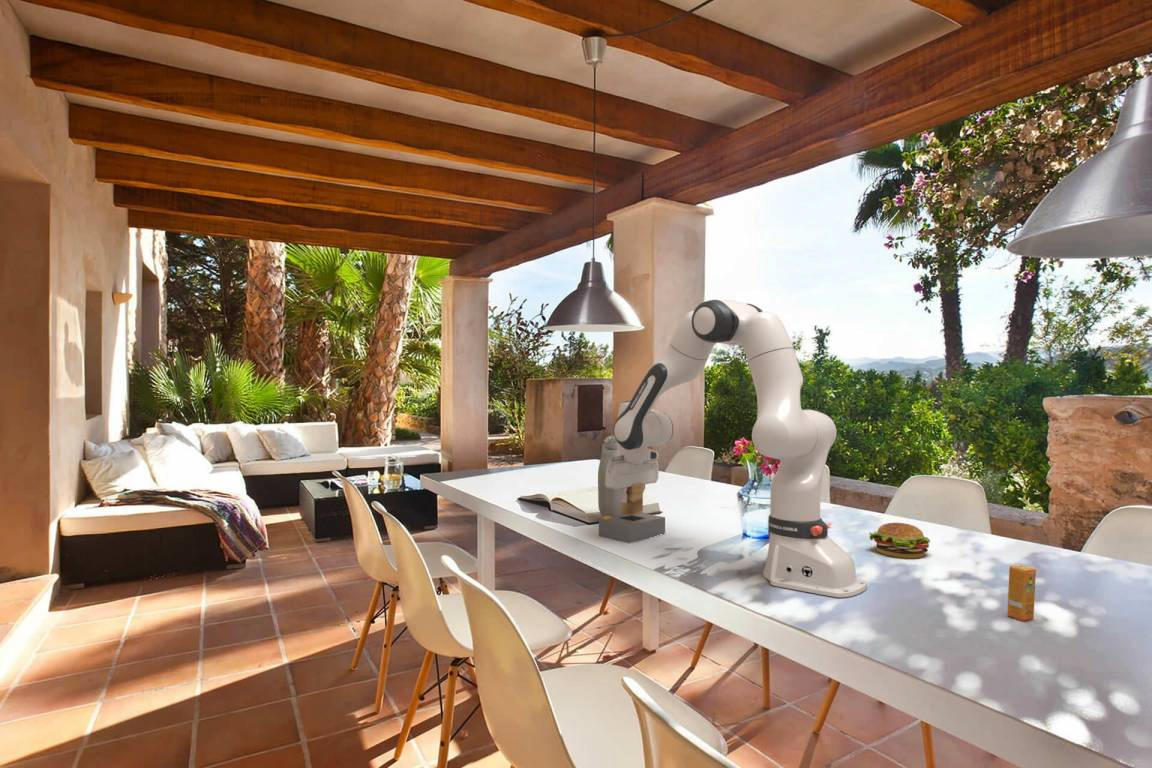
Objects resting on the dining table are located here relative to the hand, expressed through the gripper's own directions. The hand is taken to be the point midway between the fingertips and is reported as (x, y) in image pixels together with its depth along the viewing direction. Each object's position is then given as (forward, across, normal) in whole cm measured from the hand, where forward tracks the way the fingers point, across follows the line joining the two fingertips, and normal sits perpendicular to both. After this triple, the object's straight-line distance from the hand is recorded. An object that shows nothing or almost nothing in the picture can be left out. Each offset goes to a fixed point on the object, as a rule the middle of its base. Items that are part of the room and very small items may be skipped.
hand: (632, 501), depth 195 cm
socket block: (+10, 0, 0) cm, 10 cm away
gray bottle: (+10, +10, +17) cm, 22 cm away
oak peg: (+4, 0, 0) cm, 4 cm away
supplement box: (+10, +4, -97) cm, 98 cm away
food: (+10, +37, -62) cm, 73 cm away
